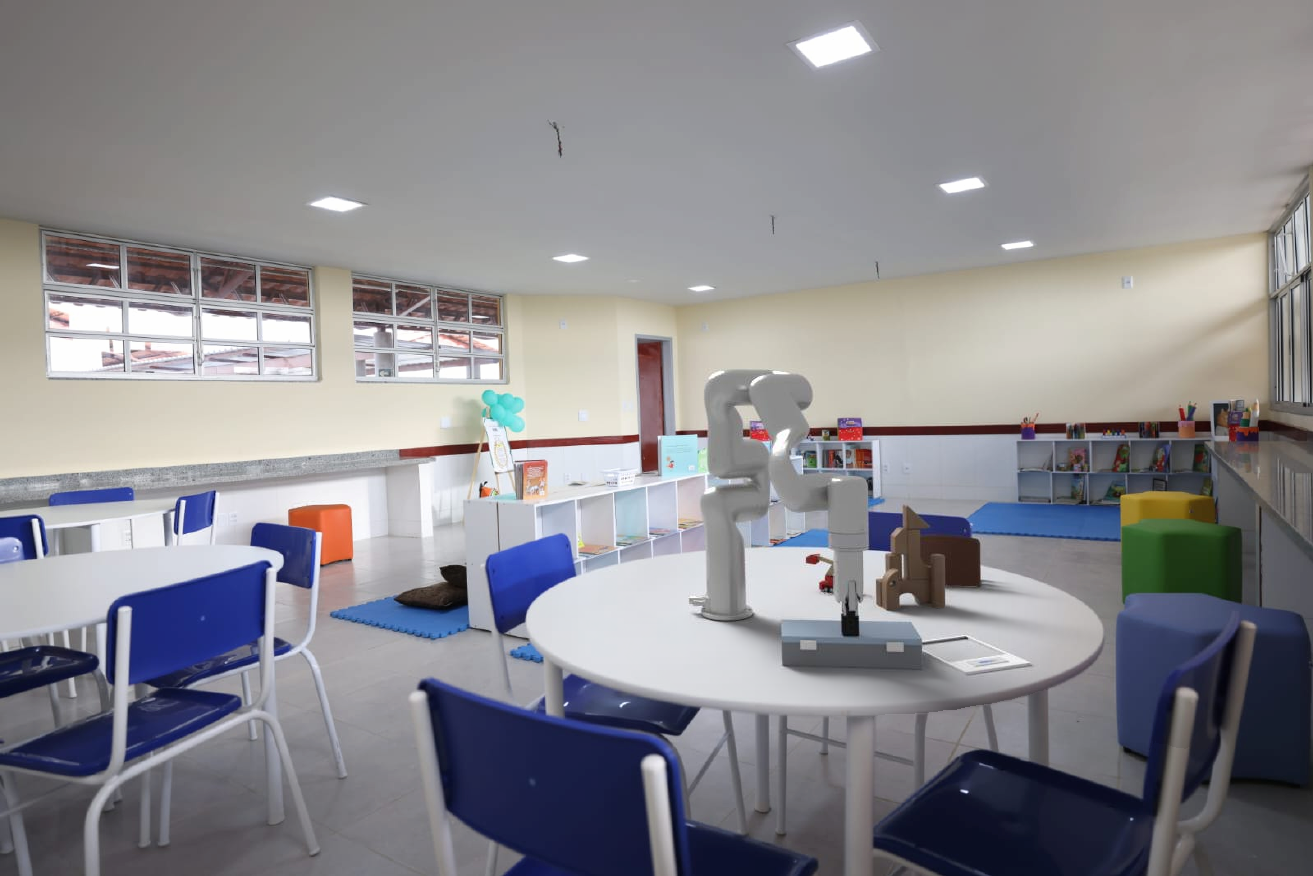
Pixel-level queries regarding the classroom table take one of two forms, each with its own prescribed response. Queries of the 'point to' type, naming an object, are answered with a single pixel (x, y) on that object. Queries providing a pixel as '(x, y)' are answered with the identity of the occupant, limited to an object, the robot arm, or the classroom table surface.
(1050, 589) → the classroom table surface
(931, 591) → the wooden toy
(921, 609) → the classroom table surface
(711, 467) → the robot arm
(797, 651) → the cable duct
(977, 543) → the letter holder
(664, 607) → the classroom table surface
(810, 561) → the toy fire truck
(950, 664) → the photo frame
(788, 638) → the duct cover
